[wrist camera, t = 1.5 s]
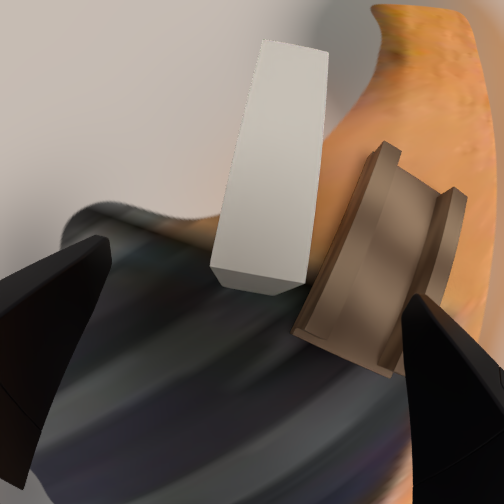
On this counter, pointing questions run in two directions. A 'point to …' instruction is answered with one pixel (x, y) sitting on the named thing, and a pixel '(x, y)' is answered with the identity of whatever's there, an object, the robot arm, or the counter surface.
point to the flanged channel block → (381, 264)
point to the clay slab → (274, 174)
